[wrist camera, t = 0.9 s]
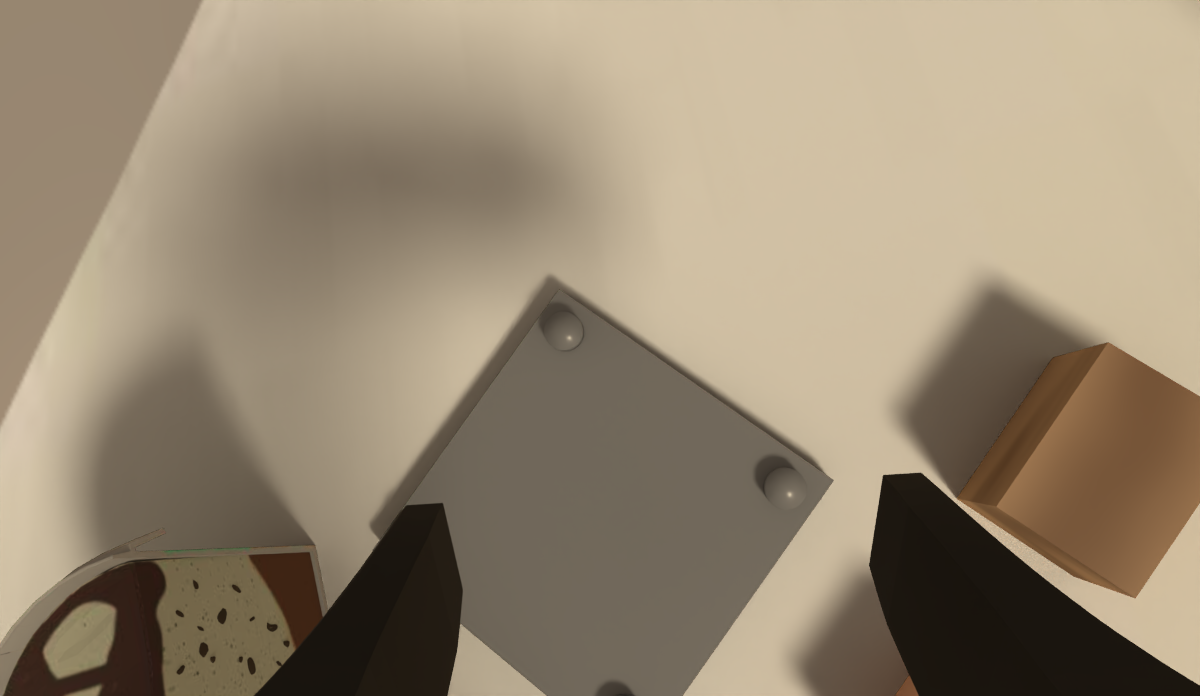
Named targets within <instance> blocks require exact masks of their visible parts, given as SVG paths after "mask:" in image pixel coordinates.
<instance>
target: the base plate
mask: <svg viewBox="0 0 1200 696" xmlns="http://www.w3.org/2000/svg"><path fill="white" fill-rule="evenodd" d="M833 481H834V480H833V479H831V478H830V477H828V476H827V475H826V474H824V473H823V472H821V471H820V470H818V469H817V468H816V467H814V466H813V465H811V464H810V463H808V462H807V461H805V460H804V459H803V458H801V457H800V456H798V455H797V454H795V453H794V452H793V451H791V450H790V449H788V448H787V447H785V446H784V445H782V444H781V443H780V442H778V441H777V440H775V439H774V438H772V437H771V436H770V435H768V434H767V433H765V432H764V431H762V430H761V429H760V428H758V427H757V426H755V425H754V424H752V423H751V422H749V421H748V420H747V419H745V418H744V417H742V416H741V415H739V414H738V413H737V412H735V411H734V410H732V409H731V408H729V407H728V406H726V405H725V404H724V403H722V402H721V401H719V400H718V399H716V398H715V397H714V396H712V395H711V394H709V393H708V392H706V391H705V390H703V389H702V388H701V387H699V386H698V385H696V384H695V383H693V382H692V381H691V380H689V379H688V378H686V377H685V376H683V375H682V374H681V373H679V372H678V371H676V370H675V369H673V368H672V367H670V366H669V365H668V364H666V363H665V362H663V361H662V360H660V359H659V358H658V357H656V356H655V355H653V354H652V353H650V352H649V351H647V350H646V349H645V348H643V347H642V346H640V345H639V344H637V343H636V342H635V341H633V340H632V339H630V338H629V337H627V336H626V335H625V334H623V333H622V332H620V331H619V330H617V329H616V328H614V327H613V326H612V325H610V324H609V323H607V322H606V321H604V320H603V319H602V318H600V317H599V316H597V315H596V314H594V313H593V312H591V311H590V310H589V309H587V308H586V307H584V306H583V305H581V304H580V303H579V302H577V301H576V300H574V299H573V298H571V297H570V296H569V295H567V294H566V293H564V292H563V291H561V290H560V289H559V290H558V291H557V293H556V294H555V296H554V297H553V298H552V300H551V301H550V303H549V304H548V305H547V307H546V308H545V310H544V311H543V312H542V314H541V315H540V317H539V318H538V319H537V321H536V322H535V324H534V325H533V326H532V328H531V329H530V331H529V332H528V333H527V335H526V336H525V338H524V339H523V340H522V342H521V343H520V345H519V346H518V347H517V349H516V350H515V352H514V353H513V354H512V356H511V357H510V359H509V360H508V361H507V363H506V364H505V366H504V367H503V368H502V370H501V371H500V373H499V374H498V375H497V377H496V378H495V380H494V381H493V382H492V384H491V385H490V387H489V388H488V389H487V391H486V392H485V394H484V395H483V396H482V398H481V399H480V401H479V402H478V403H477V405H476V406H475V408H474V409H473V410H472V412H471V413H470V415H469V416H468V417H467V419H466V420H465V422H464V423H463V424H462V426H461V427H460V429H459V430H458V431H457V433H456V434H455V436H454V437H453V438H452V440H451V441H450V443H449V444H448V445H447V447H446V448H445V450H444V451H443V452H442V454H441V455H440V457H439V458H438V459H437V461H436V462H435V464H434V465H433V466H432V468H431V469H430V471H429V472H428V473H427V475H426V476H425V478H424V479H423V480H422V482H421V483H420V485H419V486H418V487H417V489H416V490H415V492H414V493H413V494H412V496H411V497H410V499H409V500H408V501H407V503H406V504H405V506H406V505H417V504H433V503H443V505H444V509H445V514H446V518H447V522H448V527H449V531H450V535H451V540H452V544H453V548H454V553H455V557H456V561H457V566H458V570H459V574H460V579H461V583H462V587H463V597H462V608H461V619H460V624H462V625H463V626H464V627H465V628H466V629H468V630H469V631H470V632H471V633H472V634H474V635H475V636H476V637H477V638H478V639H480V640H481V641H482V642H483V643H484V644H485V645H487V646H488V647H489V648H490V649H491V650H493V651H494V652H495V653H496V654H497V655H499V656H500V657H501V658H502V659H503V660H505V661H506V662H507V663H508V664H509V665H511V666H512V667H513V668H514V669H515V670H517V671H518V672H519V673H520V674H521V675H523V676H524V677H525V678H526V679H527V680H529V681H530V682H531V683H532V684H533V685H535V686H536V687H537V688H538V689H539V690H541V691H542V692H543V693H544V694H545V695H547V696H683V694H684V693H685V692H686V690H687V689H688V687H689V686H690V685H691V683H692V682H693V680H694V679H695V677H696V676H697V675H698V673H699V672H700V670H701V669H702V667H703V666H704V665H705V663H706V662H707V660H708V659H709V657H710V656H711V655H712V653H713V652H714V650H715V649H716V647H717V646H718V645H719V643H720V642H721V640H722V639H723V638H724V636H725V635H726V633H727V632H728V630H729V629H730V628H731V626H732V625H733V623H734V622H735V620H736V619H737V618H738V616H739V615H740V613H741V612H742V610H743V609H744V608H745V606H746V605H747V603H748V602H749V600H750V599H751V598H752V596H753V595H754V593H755V592H756V591H757V589H758V588H759V586H760V585H761V583H762V582H763V581H764V579H765V578H766V576H767V575H768V573H769V572H770V571H771V569H772V568H773V566H774V565H775V563H776V562H777V561H778V559H779V558H780V556H781V555H782V553H783V552H784V551H785V549H786V548H787V546H788V545H789V544H790V542H791V541H792V539H793V538H794V536H795V535H796V534H797V532H798V531H799V529H800V528H801V526H802V525H803V524H804V522H805V521H806V519H807V518H808V516H809V515H810V514H811V512H812V511H813V509H814V508H815V507H816V505H817V504H818V502H819V501H820V499H821V498H822V497H823V495H824V494H825V492H826V491H827V489H828V488H829V487H830V485H831V484H832V482H833ZM405 506H404V507H405ZM404 507H403V508H404ZM403 508H402V509H403ZM400 512H401V511H400ZM398 515H399V514H398ZM398 515H397V516H398ZM395 519H396V518H395ZM393 522H394V521H393ZM393 522H392V523H393ZM391 525H392V524H391ZM391 525H390V526H391ZM388 529H389V528H388ZM388 529H387V530H388ZM386 532H387V531H386ZM386 532H385V533H386ZM384 535H385V534H384ZM384 535H383V536H384ZM383 536H382V538H383ZM382 538H381V539H382ZM381 539H380V540H381ZM379 542H380V541H379ZM379 542H378V543H379ZM378 543H377V545H378ZM377 545H376V546H377ZM376 546H375V548H376ZM375 548H374V549H375ZM374 549H373V550H374Z"/></svg>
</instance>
